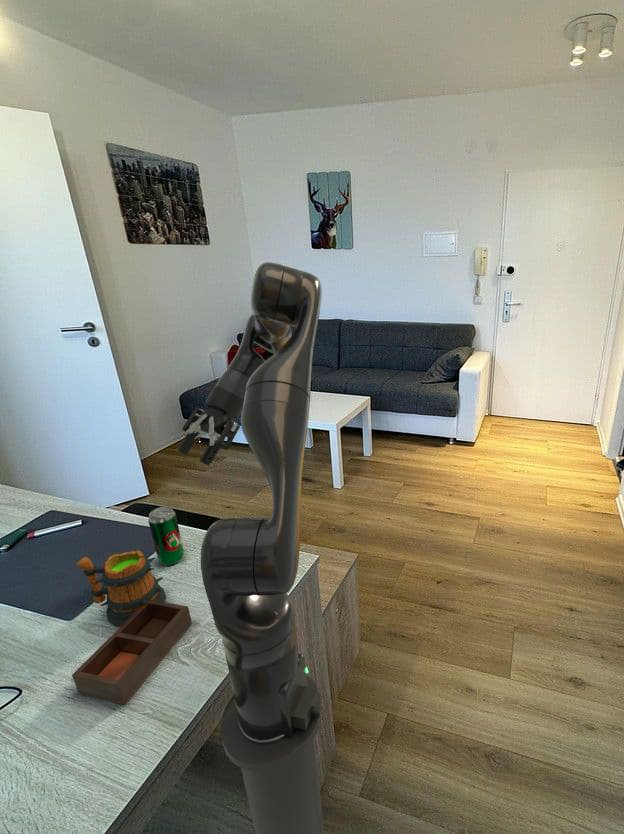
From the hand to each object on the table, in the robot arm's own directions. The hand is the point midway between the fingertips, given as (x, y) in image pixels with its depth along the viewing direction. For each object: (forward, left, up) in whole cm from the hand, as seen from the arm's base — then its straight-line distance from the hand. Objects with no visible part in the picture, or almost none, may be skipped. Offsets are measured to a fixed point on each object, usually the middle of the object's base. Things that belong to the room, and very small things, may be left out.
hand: (192, 457), depth 92 cm
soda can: (+3, +8, -21) cm, 23 cm away
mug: (+1, +22, -21) cm, 30 cm away
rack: (-8, +30, -21) cm, 38 cm away
